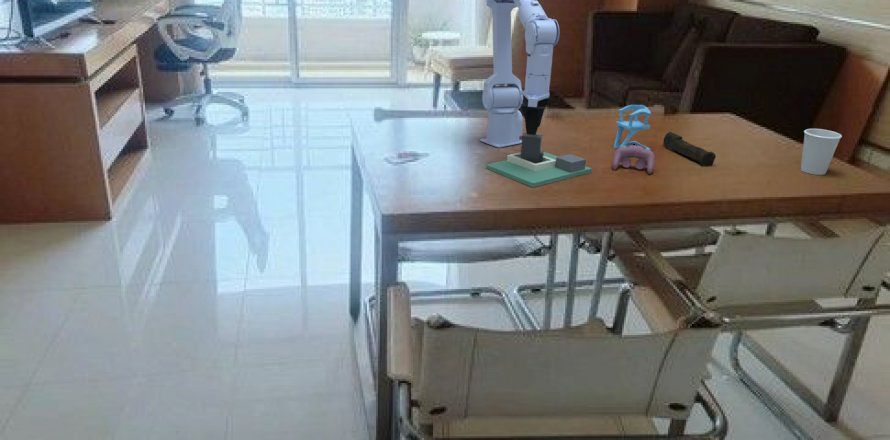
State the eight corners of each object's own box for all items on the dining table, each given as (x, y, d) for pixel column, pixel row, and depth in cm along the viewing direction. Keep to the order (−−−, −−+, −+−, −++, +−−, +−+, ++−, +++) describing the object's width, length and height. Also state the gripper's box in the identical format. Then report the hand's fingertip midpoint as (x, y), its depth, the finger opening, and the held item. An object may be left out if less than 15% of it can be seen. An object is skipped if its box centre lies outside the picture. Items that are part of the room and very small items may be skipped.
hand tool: (714, 167, 170) (718, 149, 169) (701, 167, 169) (704, 150, 167) (671, 146, 187) (674, 130, 185) (659, 146, 186) (662, 130, 184)
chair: (608, 146, 184) (614, 103, 179) (634, 144, 187) (640, 101, 182) (623, 154, 177) (629, 109, 173) (650, 152, 180) (657, 108, 175)
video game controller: (652, 177, 165) (656, 149, 165) (652, 174, 161) (657, 145, 161) (611, 171, 168) (616, 144, 168) (611, 168, 163) (615, 140, 164)
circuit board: (543, 155, 173) (545, 142, 172) (591, 172, 162) (593, 158, 160) (486, 168, 162) (486, 154, 160) (532, 187, 150) (534, 172, 149)
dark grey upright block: (518, 160, 165) (520, 132, 163) (542, 162, 164) (545, 135, 161) (516, 163, 163) (518, 135, 160) (541, 166, 162) (544, 138, 159)
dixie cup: (836, 171, 169) (846, 133, 165) (825, 178, 164) (836, 139, 160) (801, 164, 174) (810, 126, 171) (790, 170, 169) (799, 132, 165)
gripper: (525, 67, 162) (520, 121, 168) (516, 77, 149) (512, 136, 155) (554, 69, 161) (548, 124, 166) (548, 80, 148) (542, 139, 153)
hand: (533, 130), depth 160 cm, fingers open, 7 cm apart
